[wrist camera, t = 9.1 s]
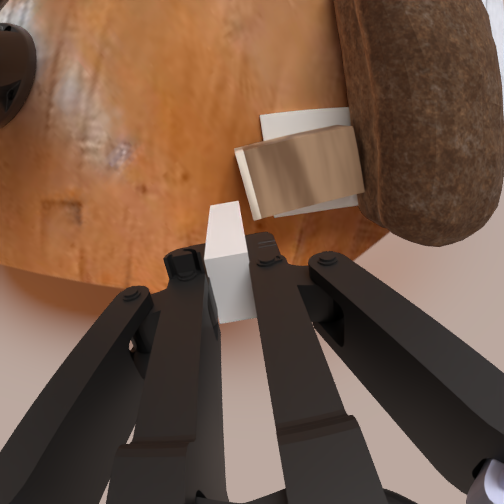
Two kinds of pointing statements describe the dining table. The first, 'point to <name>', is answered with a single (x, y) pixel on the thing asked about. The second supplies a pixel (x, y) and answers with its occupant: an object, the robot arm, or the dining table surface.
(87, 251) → the dining table surface
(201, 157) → the dining table surface
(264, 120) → the mat
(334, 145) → the block
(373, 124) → the bread
